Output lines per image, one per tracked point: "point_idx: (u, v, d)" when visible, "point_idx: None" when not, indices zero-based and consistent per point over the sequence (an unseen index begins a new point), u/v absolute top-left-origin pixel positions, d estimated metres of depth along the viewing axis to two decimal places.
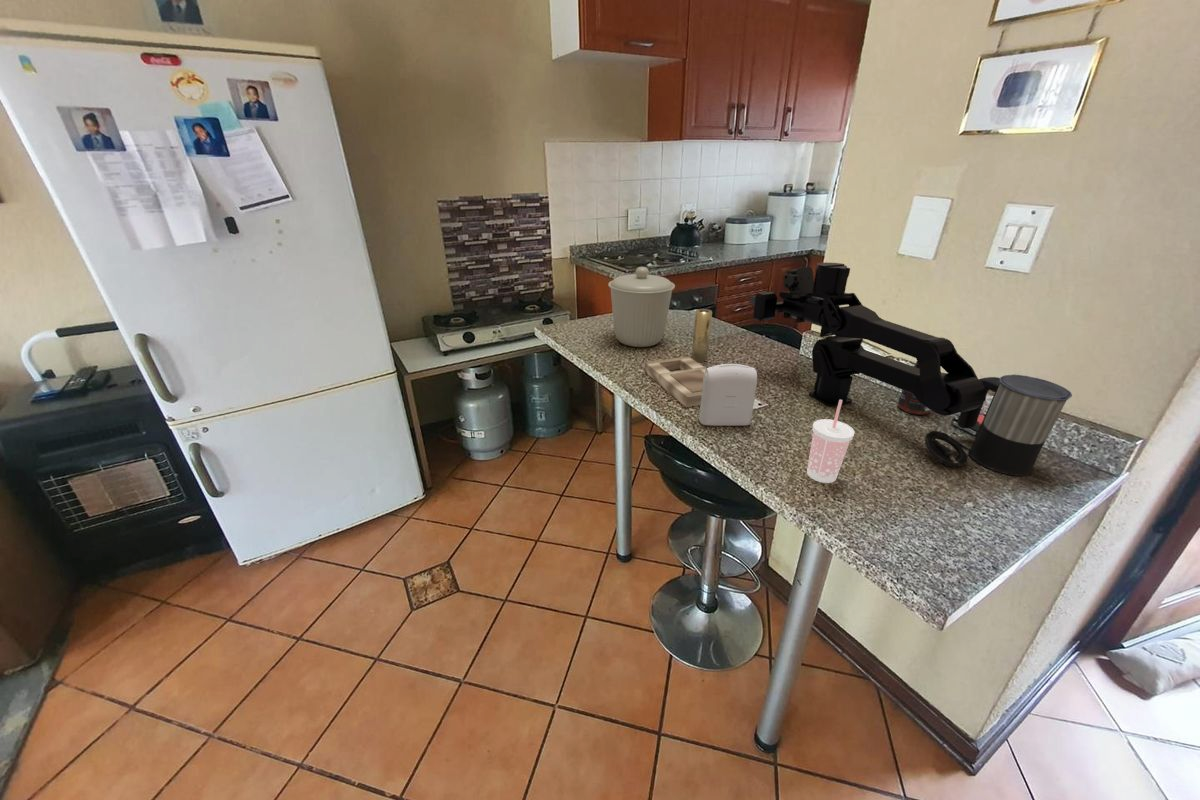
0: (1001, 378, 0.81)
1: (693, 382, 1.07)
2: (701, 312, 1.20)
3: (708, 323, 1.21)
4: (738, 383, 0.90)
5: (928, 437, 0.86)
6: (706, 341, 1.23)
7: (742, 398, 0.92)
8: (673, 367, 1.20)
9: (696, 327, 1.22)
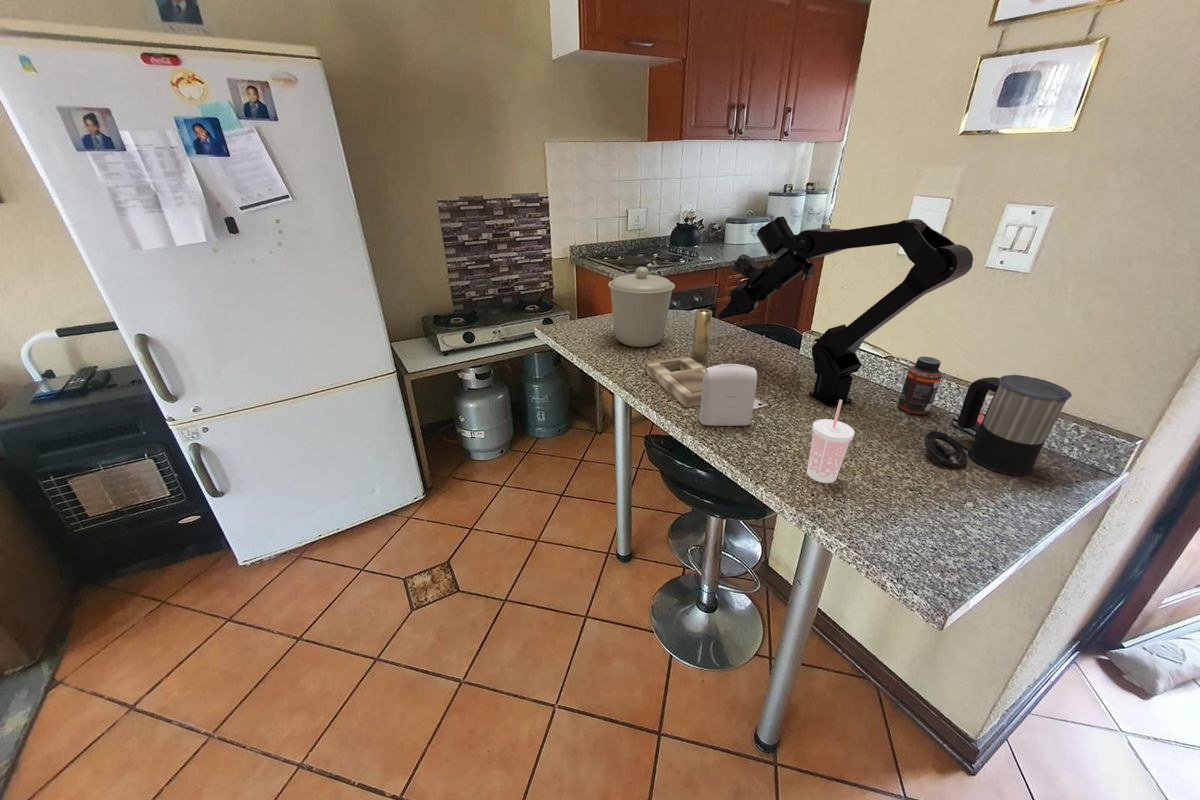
0: (1001, 378, 0.81)
1: (693, 382, 1.07)
2: (701, 312, 1.20)
3: (708, 323, 1.21)
4: (737, 383, 0.90)
5: (927, 437, 0.86)
6: (706, 341, 1.23)
7: (742, 398, 0.92)
8: (673, 367, 1.20)
9: (696, 327, 1.22)
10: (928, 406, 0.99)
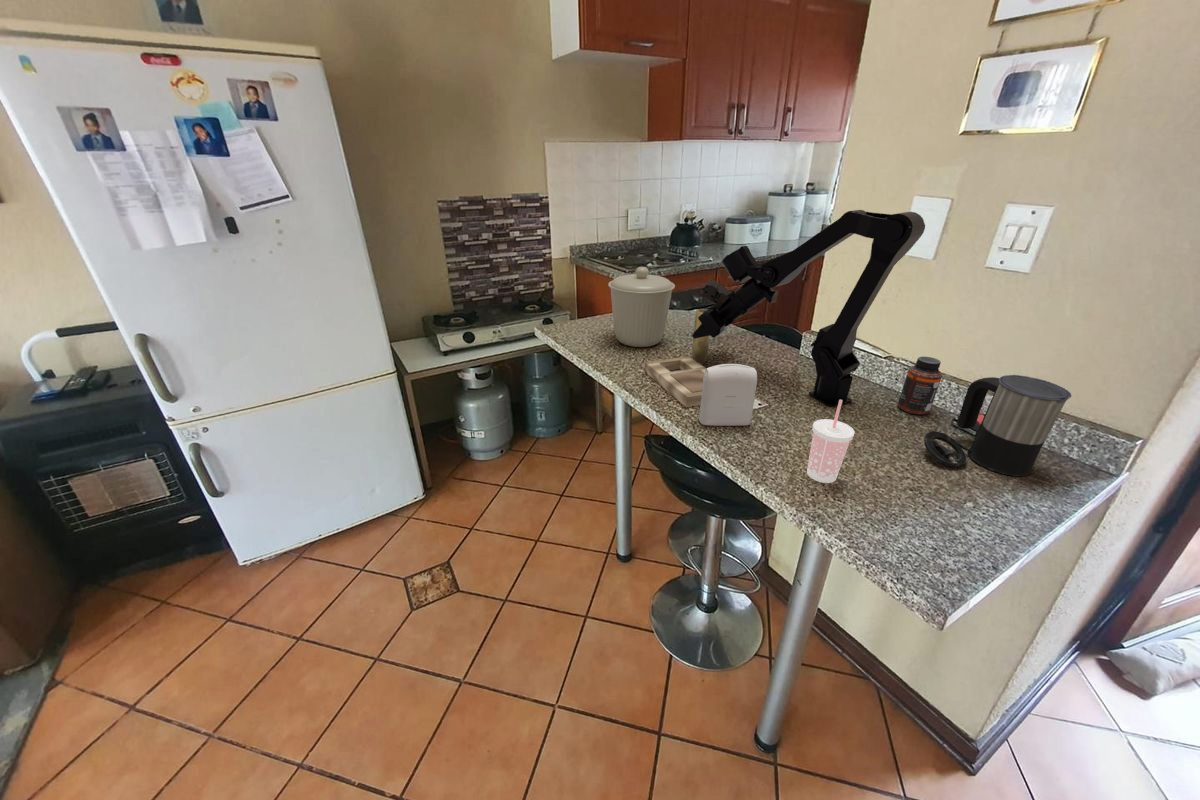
0: (1000, 378, 0.81)
1: (693, 382, 1.07)
2: (701, 312, 1.20)
3: None
4: (738, 383, 0.90)
5: (927, 437, 0.86)
6: (706, 341, 1.23)
7: (742, 398, 0.92)
8: (673, 367, 1.20)
9: (696, 327, 1.22)
10: (928, 406, 0.99)
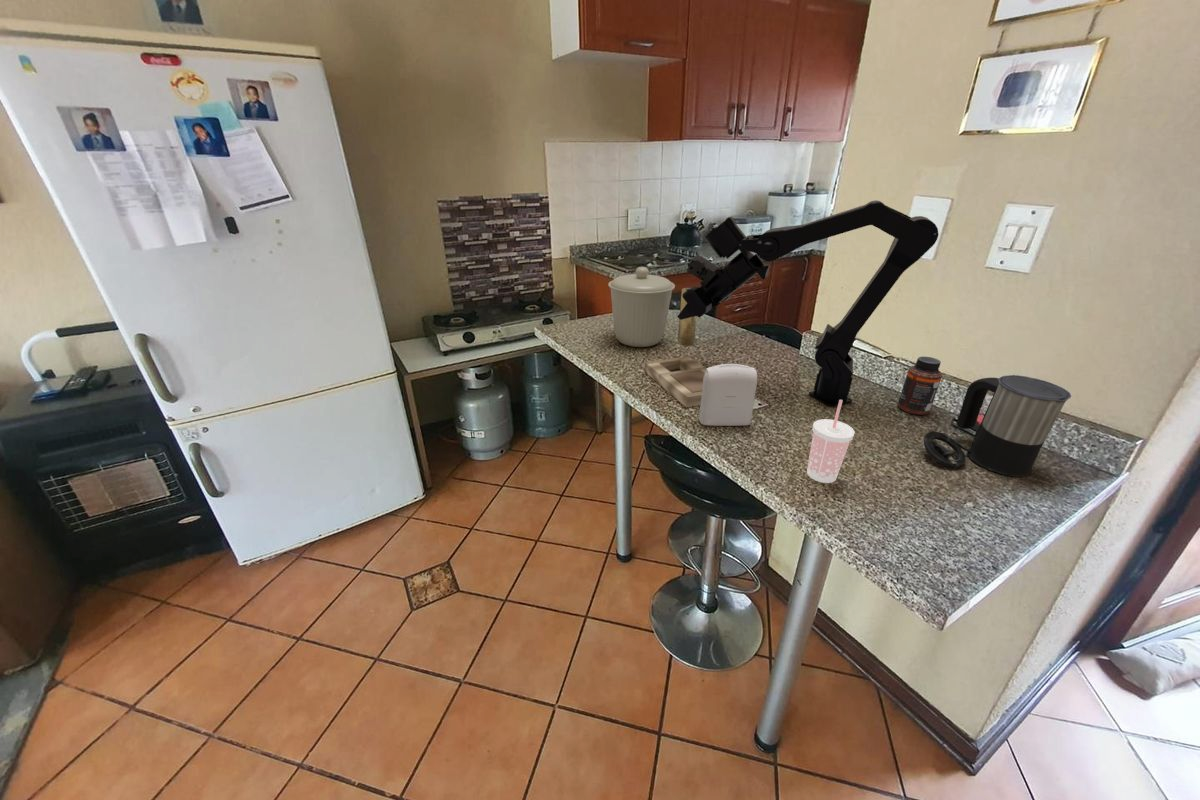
0: (1000, 378, 0.81)
1: (693, 382, 1.07)
2: None
3: None
4: (738, 383, 0.90)
5: (926, 437, 0.86)
6: (693, 322, 1.13)
7: (742, 398, 0.92)
8: (673, 367, 1.20)
9: (682, 307, 1.12)
10: (928, 406, 0.99)
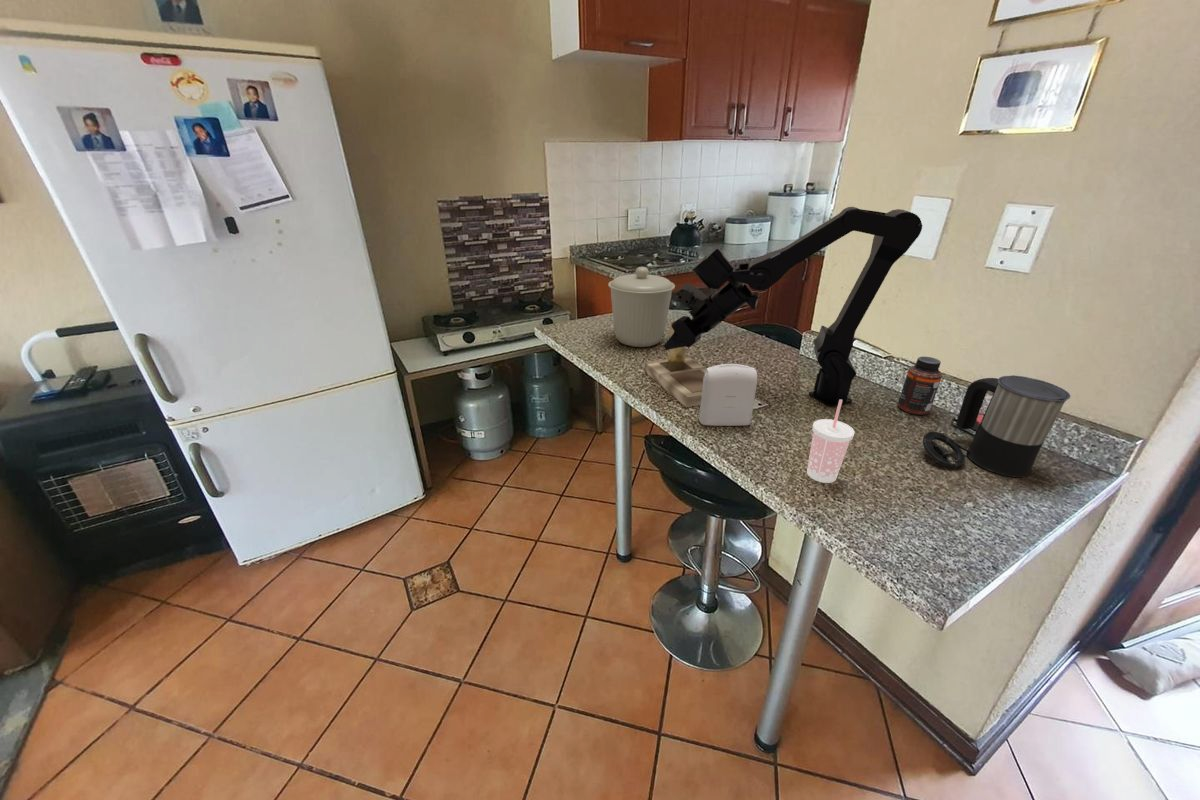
0: (999, 379, 0.81)
1: (693, 382, 1.07)
2: None
3: None
4: (737, 383, 0.90)
5: (925, 437, 0.86)
6: (682, 355, 1.13)
7: (742, 398, 0.92)
8: None
9: None
10: (928, 406, 0.99)
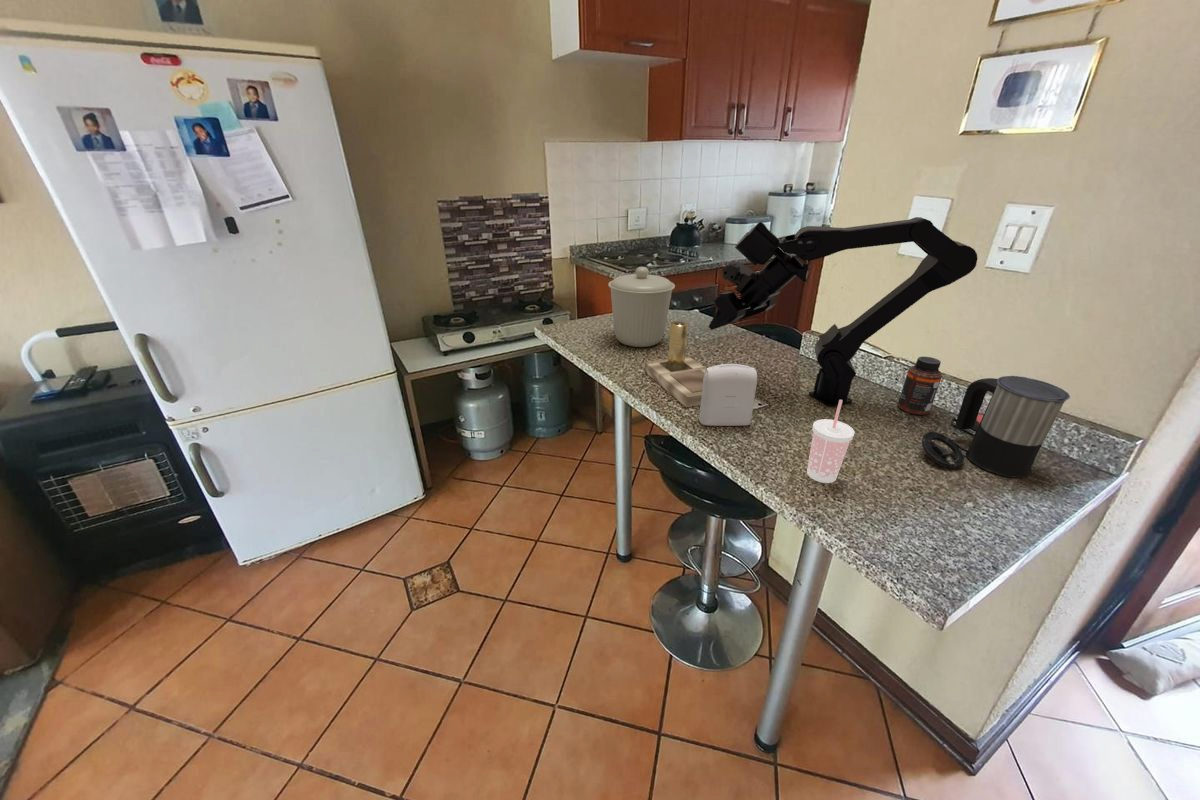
0: (999, 379, 0.80)
1: (693, 382, 1.07)
2: (676, 325, 1.10)
3: (684, 337, 1.11)
4: (737, 383, 0.90)
5: (924, 437, 0.86)
6: (682, 355, 1.13)
7: (742, 398, 0.92)
8: None
9: (671, 341, 1.12)
10: (928, 406, 0.99)
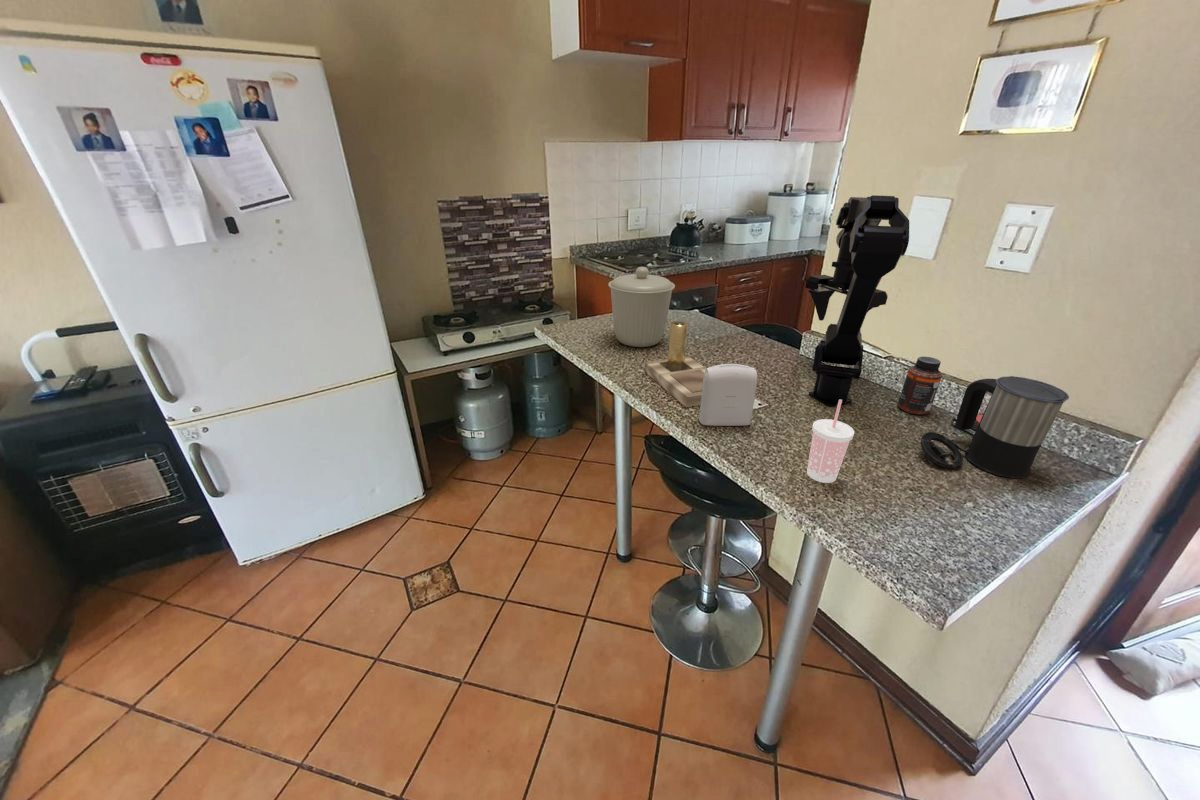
0: (998, 379, 0.80)
1: (693, 382, 1.07)
2: (676, 325, 1.10)
3: (684, 337, 1.11)
4: (738, 383, 0.90)
5: (923, 438, 0.86)
6: (682, 355, 1.13)
7: (742, 398, 0.92)
8: None
9: (671, 341, 1.12)
10: (928, 406, 0.99)
